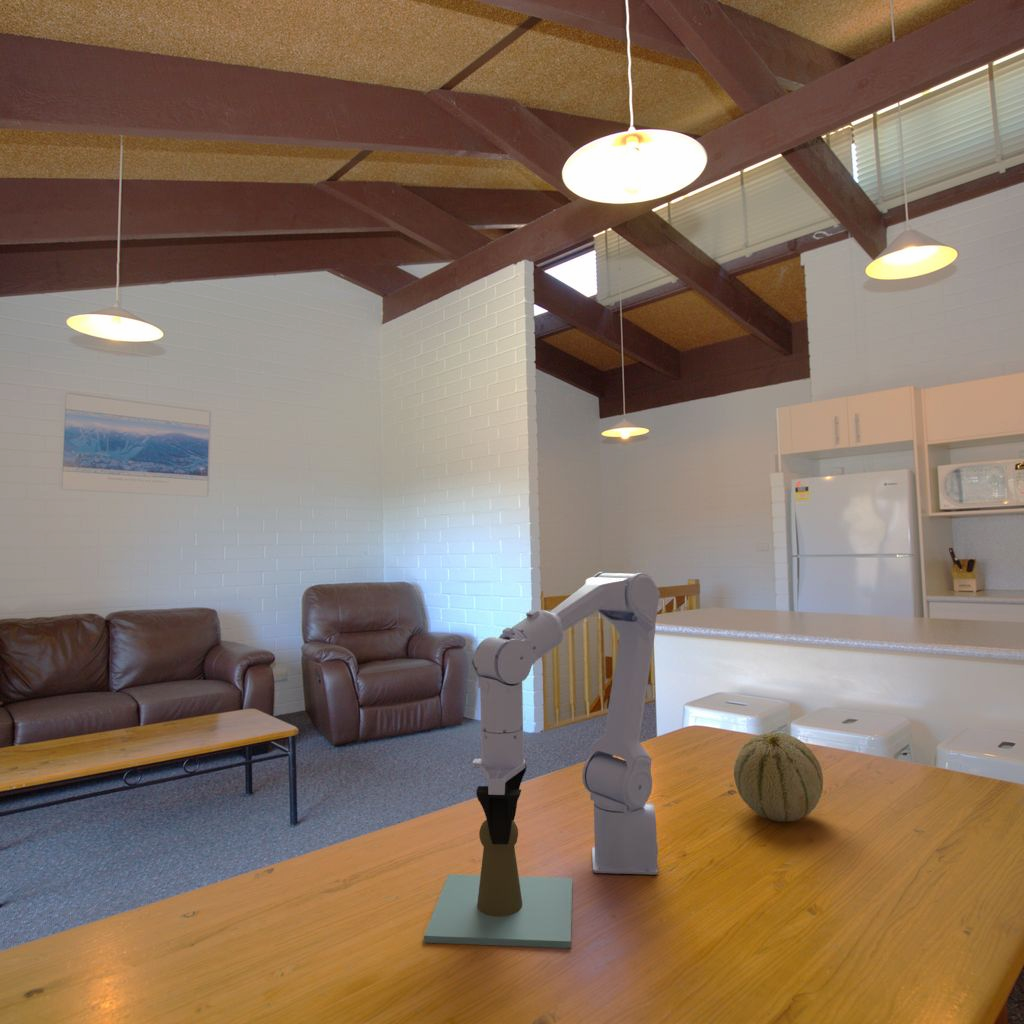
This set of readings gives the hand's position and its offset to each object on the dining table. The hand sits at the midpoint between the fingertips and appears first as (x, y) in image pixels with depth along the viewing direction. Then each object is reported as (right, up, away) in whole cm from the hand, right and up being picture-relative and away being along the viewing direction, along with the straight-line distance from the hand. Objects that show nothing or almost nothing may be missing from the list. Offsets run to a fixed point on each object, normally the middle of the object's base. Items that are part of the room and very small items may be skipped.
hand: (503, 831), depth 92 cm
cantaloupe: (+48, -11, +29) cm, 57 cm away
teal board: (0, -10, -1) cm, 10 cm away
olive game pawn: (-1, -10, -1) cm, 10 cm away
